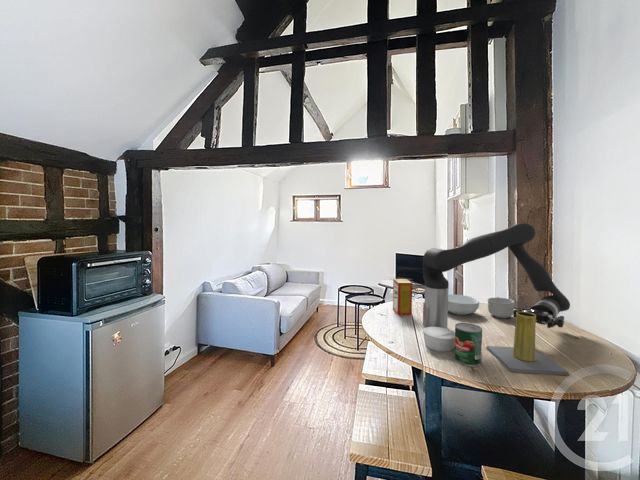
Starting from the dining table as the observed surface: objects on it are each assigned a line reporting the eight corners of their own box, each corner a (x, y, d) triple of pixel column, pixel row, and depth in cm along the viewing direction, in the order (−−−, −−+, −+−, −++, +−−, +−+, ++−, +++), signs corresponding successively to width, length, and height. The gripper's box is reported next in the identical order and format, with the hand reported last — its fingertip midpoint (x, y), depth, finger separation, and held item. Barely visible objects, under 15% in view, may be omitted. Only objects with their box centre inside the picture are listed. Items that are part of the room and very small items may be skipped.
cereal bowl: (437, 313, 142) (437, 299, 141) (444, 305, 156) (444, 292, 155) (476, 320, 132) (476, 305, 132) (480, 311, 146) (481, 297, 145)
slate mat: (510, 371, 87) (510, 368, 87) (486, 348, 103) (486, 345, 103) (568, 375, 85) (569, 371, 85) (535, 351, 101) (535, 348, 101)
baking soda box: (411, 315, 140) (412, 282, 139) (397, 315, 140) (398, 282, 139) (405, 309, 149) (406, 278, 148) (392, 309, 149) (393, 278, 148)
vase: (539, 362, 90) (541, 317, 90) (517, 360, 92) (519, 316, 91) (529, 354, 96) (531, 311, 96) (509, 352, 98) (511, 310, 97)
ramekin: (454, 356, 97) (455, 340, 97) (419, 349, 103) (420, 334, 102) (457, 344, 107) (457, 330, 107) (425, 338, 112) (425, 324, 112)
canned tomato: (452, 362, 93) (453, 328, 92) (455, 352, 100) (456, 321, 99) (480, 368, 89) (481, 333, 88) (481, 358, 95) (483, 325, 95)
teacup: (514, 321, 131) (514, 304, 130) (486, 317, 137) (487, 300, 136) (513, 313, 143) (513, 297, 142) (487, 309, 149) (488, 294, 148)
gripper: (522, 298, 116) (509, 306, 105) (568, 306, 105) (560, 315, 94) (521, 317, 116) (508, 326, 105) (567, 326, 106) (559, 338, 95)
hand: (533, 321), depth 100 cm, fingers open, 8 cm apart
